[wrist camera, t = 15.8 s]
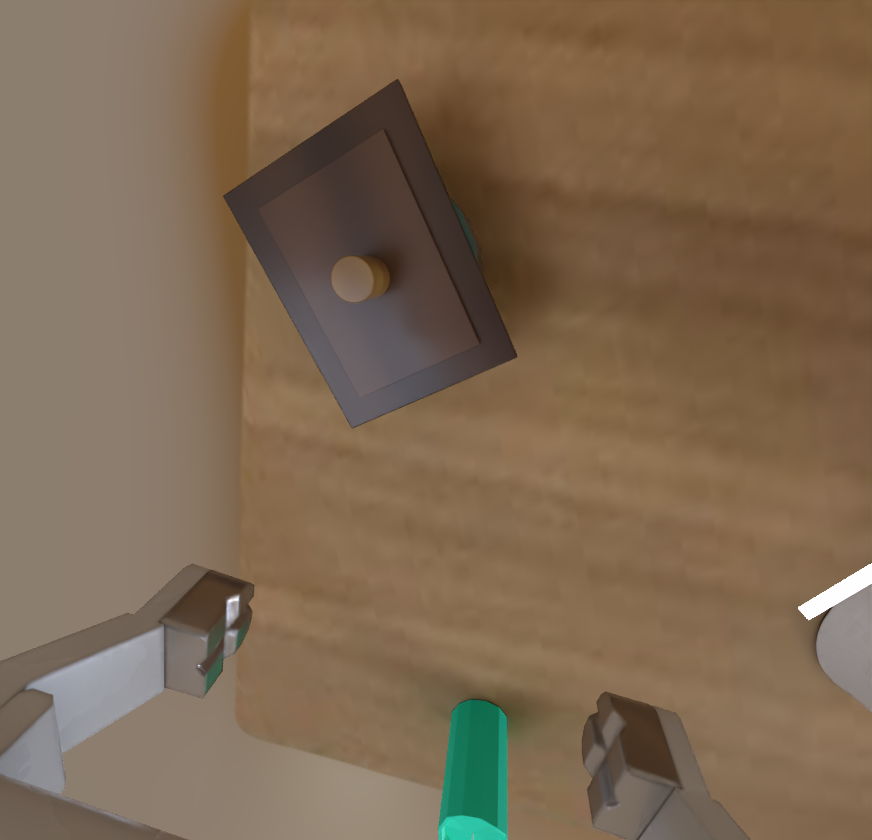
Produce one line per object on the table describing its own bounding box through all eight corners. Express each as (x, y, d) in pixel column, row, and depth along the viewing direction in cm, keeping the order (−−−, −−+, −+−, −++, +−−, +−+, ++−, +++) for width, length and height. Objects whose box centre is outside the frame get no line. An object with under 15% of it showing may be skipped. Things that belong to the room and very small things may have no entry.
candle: (461, 741, 48) (447, 886, 37) (444, 702, 47) (425, 840, 35) (514, 737, 47) (517, 886, 36) (499, 696, 45) (496, 839, 34)
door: (400, 83, 23) (378, 45, 19) (517, 354, 27) (519, 371, 23) (230, 197, 27) (180, 185, 23) (355, 424, 31) (332, 449, 26)
